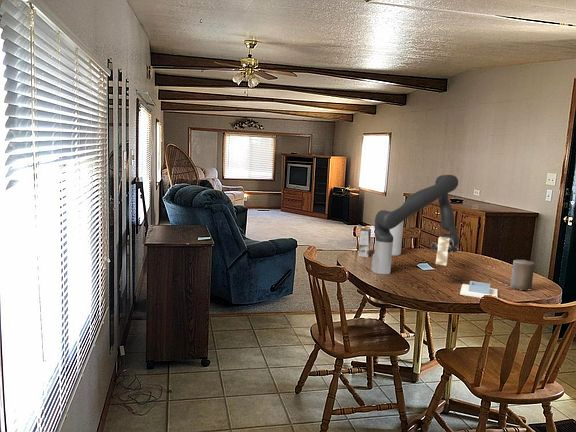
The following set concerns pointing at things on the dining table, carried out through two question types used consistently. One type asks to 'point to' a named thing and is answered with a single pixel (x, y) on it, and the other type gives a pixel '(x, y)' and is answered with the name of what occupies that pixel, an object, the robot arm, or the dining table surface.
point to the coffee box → (364, 242)
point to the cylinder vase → (397, 239)
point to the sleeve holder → (477, 289)
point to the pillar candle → (522, 274)
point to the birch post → (442, 251)
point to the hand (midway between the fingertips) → (442, 249)
